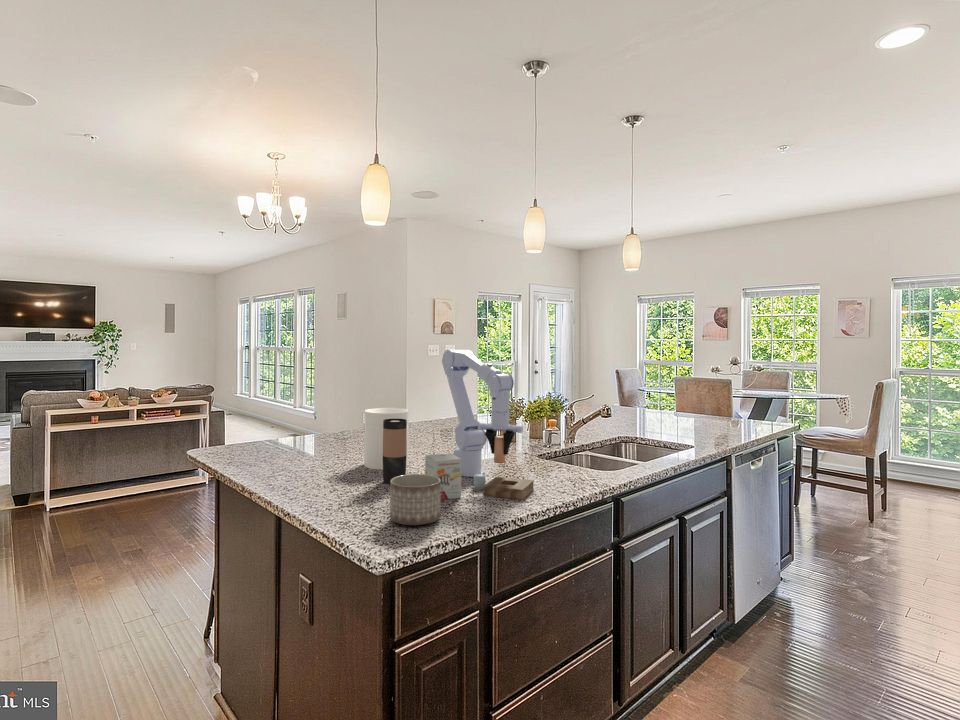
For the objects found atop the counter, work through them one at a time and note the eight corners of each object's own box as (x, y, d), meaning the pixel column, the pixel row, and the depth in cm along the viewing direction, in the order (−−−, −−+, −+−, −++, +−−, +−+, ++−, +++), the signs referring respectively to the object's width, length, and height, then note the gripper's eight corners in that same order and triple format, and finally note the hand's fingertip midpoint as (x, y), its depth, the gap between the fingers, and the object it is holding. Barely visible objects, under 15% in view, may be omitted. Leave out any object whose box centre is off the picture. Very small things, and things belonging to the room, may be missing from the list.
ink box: (434, 501, 153) (435, 460, 153) (423, 493, 161) (424, 454, 160) (462, 497, 157) (462, 457, 157) (450, 490, 165) (450, 452, 164)
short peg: (471, 489, 167) (472, 476, 166) (476, 486, 170) (476, 473, 170) (482, 490, 165) (482, 477, 165) (486, 487, 169) (487, 474, 168)
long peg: (492, 462, 171) (492, 437, 171) (496, 460, 174) (496, 435, 174) (503, 463, 170) (503, 438, 170) (506, 461, 173) (507, 436, 173)
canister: (414, 461, 204) (414, 408, 203) (398, 471, 188) (399, 414, 188) (375, 458, 207) (375, 407, 207) (356, 467, 192) (356, 412, 191)
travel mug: (410, 480, 176) (411, 419, 175) (397, 485, 169) (398, 422, 168) (391, 477, 179) (391, 417, 178) (377, 482, 172) (378, 420, 171)
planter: (388, 514, 141) (388, 475, 141) (436, 511, 144) (436, 473, 144) (391, 530, 129) (392, 487, 128) (443, 527, 132) (444, 485, 131)
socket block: (483, 495, 160) (483, 485, 159) (496, 485, 171) (496, 476, 171) (522, 500, 155) (522, 489, 155) (533, 489, 166) (533, 480, 166)
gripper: (474, 411, 170) (474, 453, 171) (518, 414, 165) (517, 458, 166) (482, 409, 177) (481, 450, 177) (524, 411, 172) (524, 453, 172)
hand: (499, 453), depth 172 cm, fingers closed on long peg, 4 cm apart
